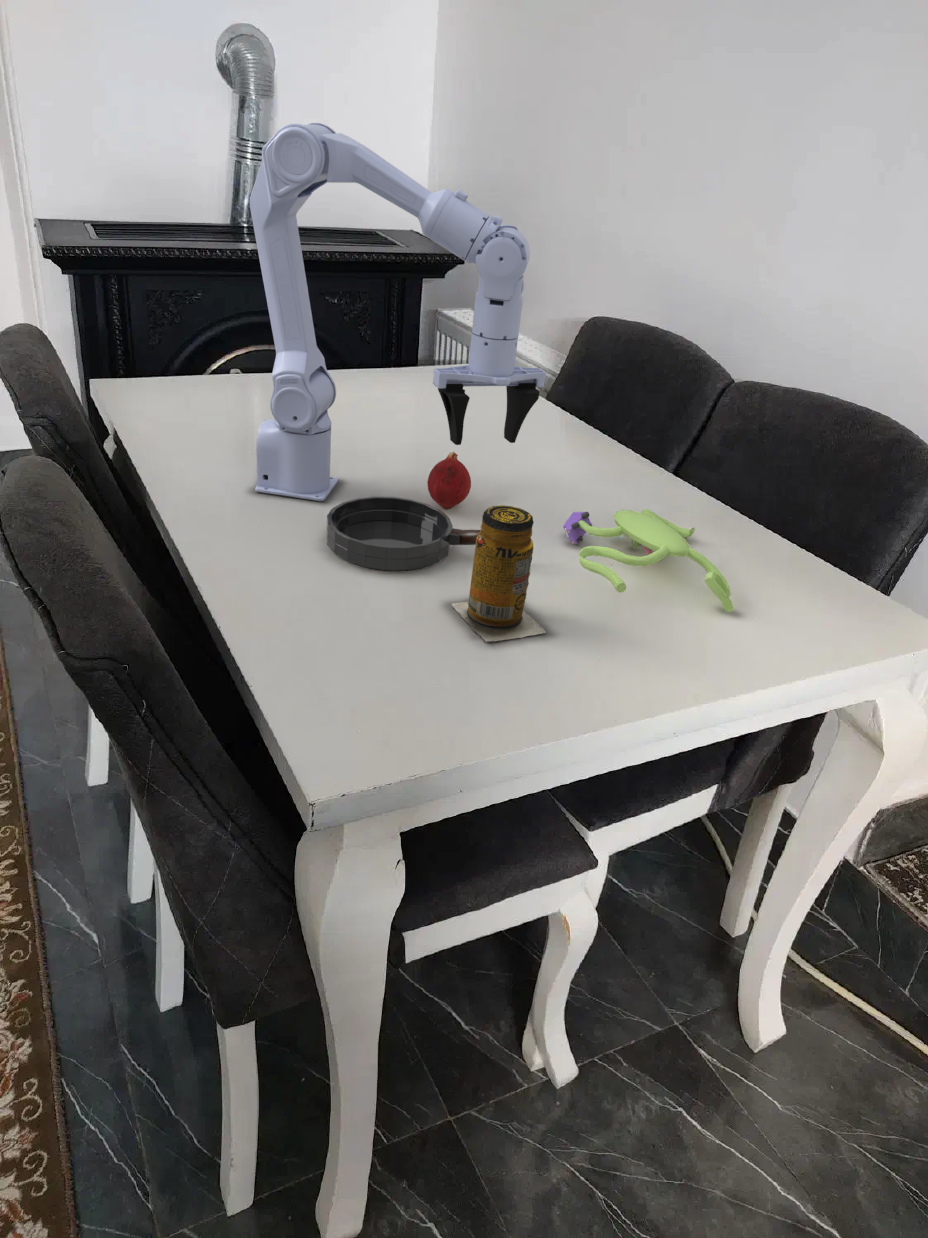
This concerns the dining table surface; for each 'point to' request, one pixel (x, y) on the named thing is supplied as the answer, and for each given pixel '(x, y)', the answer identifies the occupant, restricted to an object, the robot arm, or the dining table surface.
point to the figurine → (651, 536)
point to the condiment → (501, 576)
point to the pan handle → (463, 537)
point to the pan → (388, 533)
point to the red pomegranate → (449, 482)
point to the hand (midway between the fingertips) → (482, 441)
